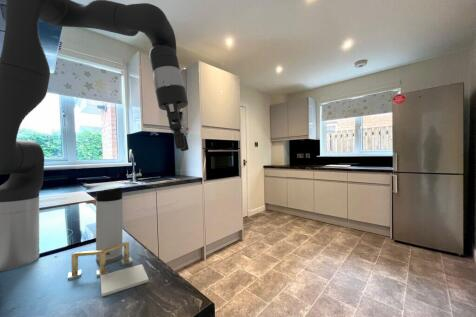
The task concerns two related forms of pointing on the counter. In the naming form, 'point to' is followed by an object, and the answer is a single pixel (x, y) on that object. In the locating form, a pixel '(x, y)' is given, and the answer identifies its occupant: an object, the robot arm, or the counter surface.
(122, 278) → the coaster
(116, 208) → the travel mug
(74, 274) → the gold barrier railing
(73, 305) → the counter surface
